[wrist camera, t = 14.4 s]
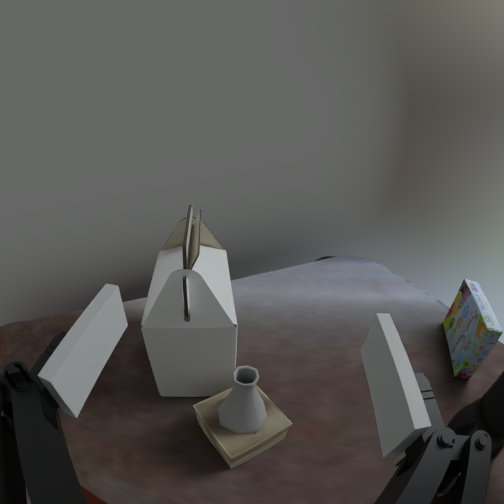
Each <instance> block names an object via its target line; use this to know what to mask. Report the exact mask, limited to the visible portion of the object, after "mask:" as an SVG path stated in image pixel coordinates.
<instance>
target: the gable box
mask: <svg viewBox="0 0 504 504" xmlns="http://www.w3.org/2000/svg"><path fill="white" fill-rule="evenodd" d="M237 327H238V325H237V319H236V313H235V307H234V300H233V294H232V287H231V281H230V274H229V268H228V261H227V255H226V251H225V250H224V249H223V248H222V246H221V245H220V243H219V242H218V241H217V240H216V238H215V237H214V236H213V234H212V233H211V232H210V231H209V229H208V228H207V226H206V225H205V224H204V222H203V221H202V220H201V210H200V211H199V213H198V215H197V217H196V218H194V217H193V215H192V205H189V208H188V214H187V218H184V219H183V220H181V221H180V222H179V224H178V225H177V227H176V229H175V230H174V231H173V233H172V235H171V236H170V238H169V239H168V240H167V242H166V244H165V245H164V247H163V248H162V250H161V251H160V252H159V255H158V259H157V263H156V266H155V270H154V274H153V277H152V281H151V285H150V289H149V293H148V297H147V301H146V305H145V309H144V314H143V318H142V323H141V330H142V334H143V338H144V342H145V346H146V350H147V354H148V357H149V361H150V364H151V368H152V371H153V375H154V378H155V381H156V384H157V387H158V391H159V394H160V396H173V397H201V396H215V395H217V394H220V393H222V392H224V391H226V390H228V389H230V388H232V387H233V385H234V381H233V375H232V373H233V372H234V371H235V369H236V348H237Z"/></svg>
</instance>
